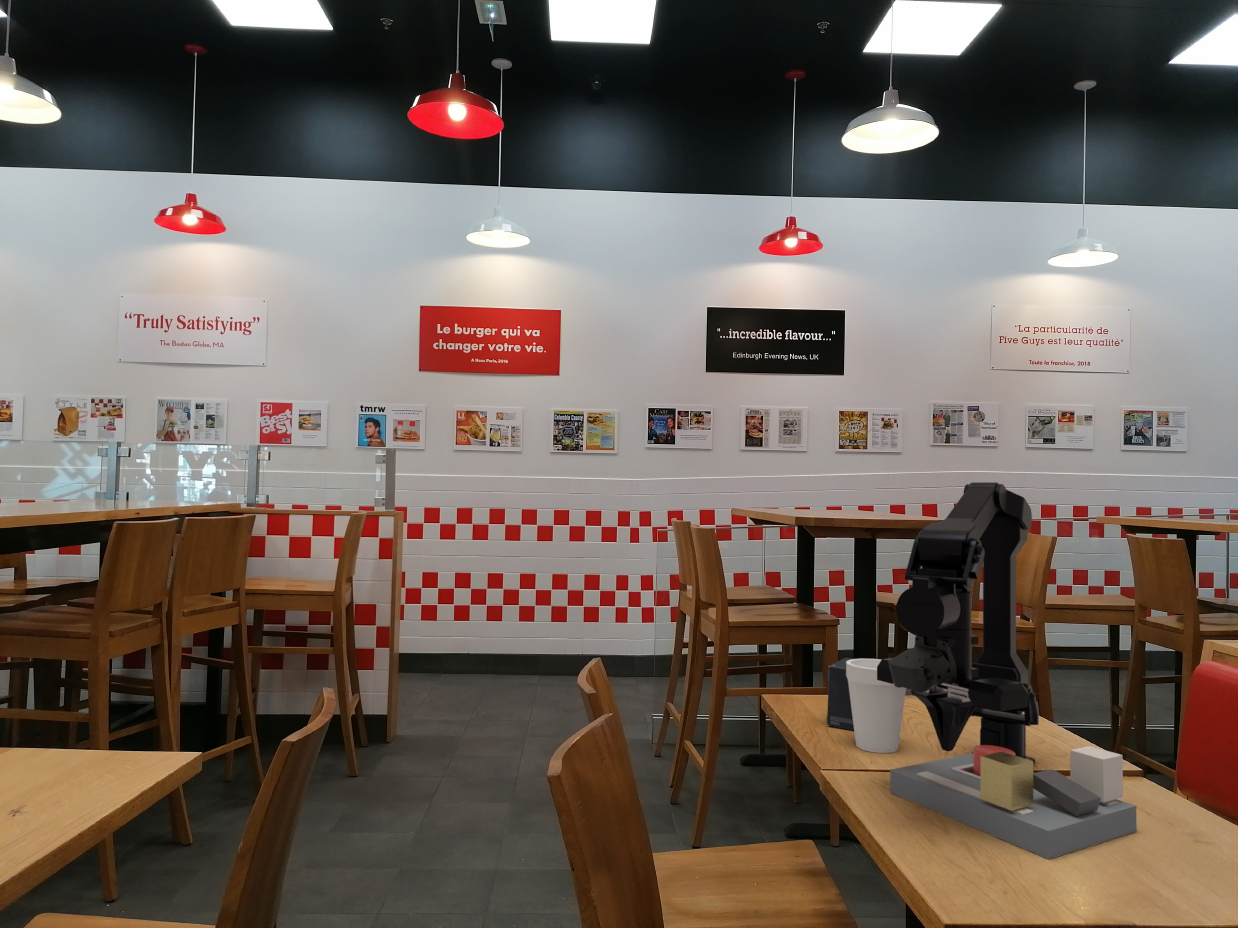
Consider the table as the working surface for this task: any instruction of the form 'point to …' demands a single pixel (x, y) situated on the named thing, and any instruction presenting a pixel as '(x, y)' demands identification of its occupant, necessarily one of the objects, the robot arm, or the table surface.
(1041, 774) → the block
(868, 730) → the foam cup
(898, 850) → the table surface
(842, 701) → the small box
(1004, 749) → the red button
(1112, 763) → the ivory slider
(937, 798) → the panel
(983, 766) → the brass slider
